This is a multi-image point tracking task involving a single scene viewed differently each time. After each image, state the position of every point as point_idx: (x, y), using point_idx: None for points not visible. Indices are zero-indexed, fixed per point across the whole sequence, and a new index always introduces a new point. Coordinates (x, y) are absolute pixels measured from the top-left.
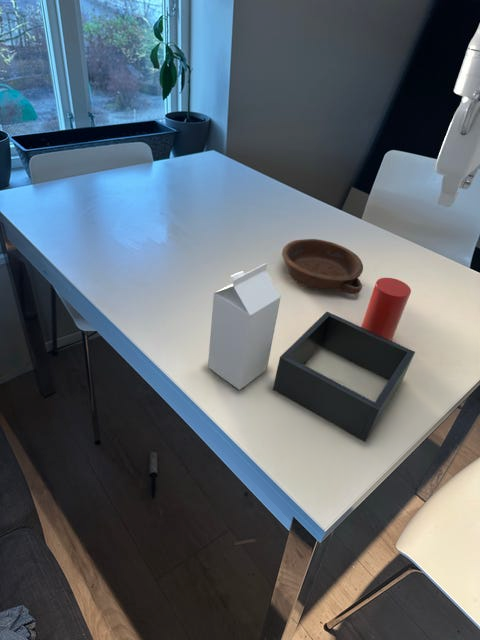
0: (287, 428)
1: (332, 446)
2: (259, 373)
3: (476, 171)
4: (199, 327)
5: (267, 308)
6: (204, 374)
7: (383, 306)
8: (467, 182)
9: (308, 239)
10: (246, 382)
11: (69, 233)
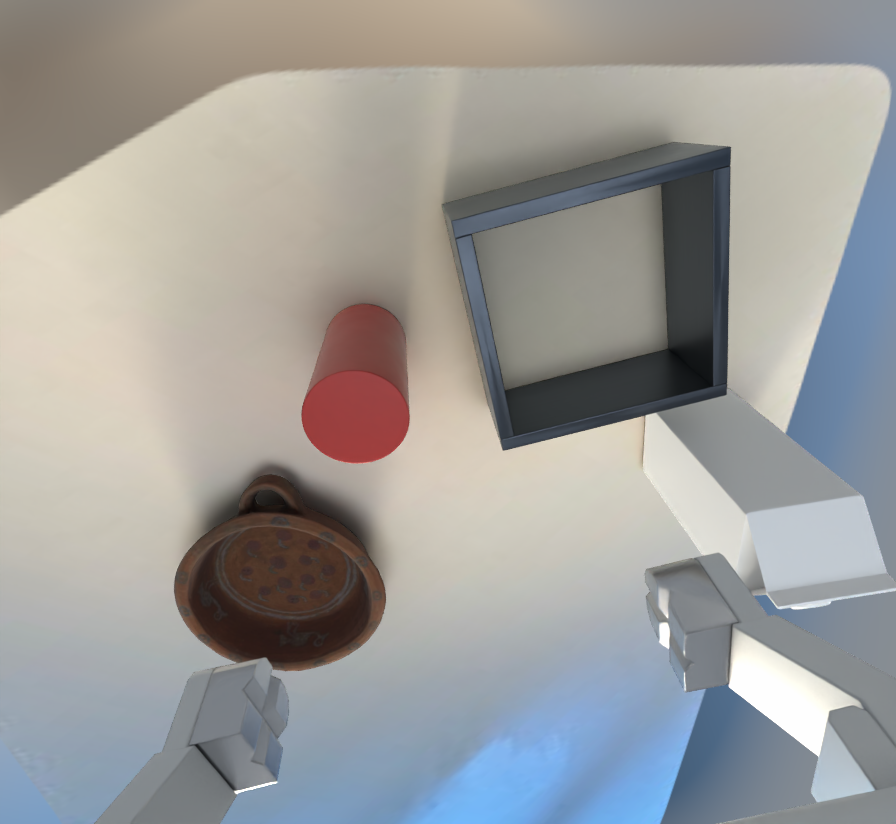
0: (746, 269)
1: None
2: None
3: (164, 785)
4: (641, 540)
5: (790, 497)
6: None
7: (405, 384)
8: (255, 704)
9: None
10: None
11: (614, 792)
